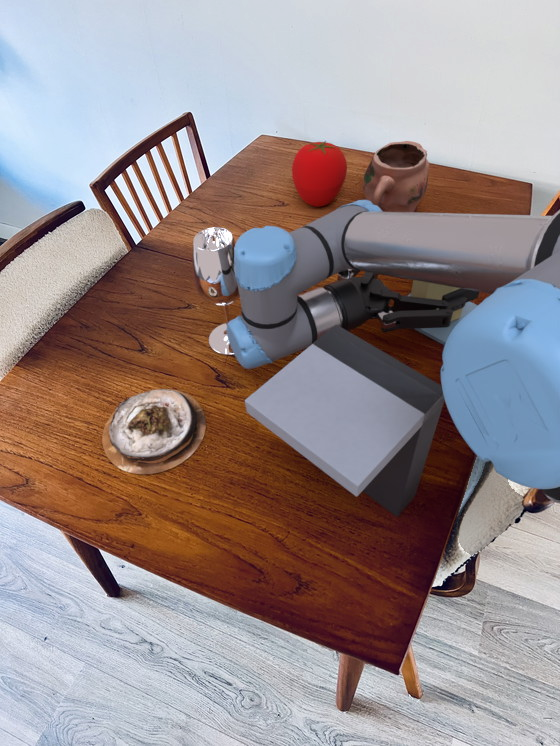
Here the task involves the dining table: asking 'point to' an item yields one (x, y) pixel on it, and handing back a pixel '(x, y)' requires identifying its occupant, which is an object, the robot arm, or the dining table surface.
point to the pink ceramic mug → (397, 177)
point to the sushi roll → (153, 431)
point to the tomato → (319, 172)
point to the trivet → (443, 333)
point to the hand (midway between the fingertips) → (449, 264)
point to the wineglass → (216, 278)
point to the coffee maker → (354, 416)
